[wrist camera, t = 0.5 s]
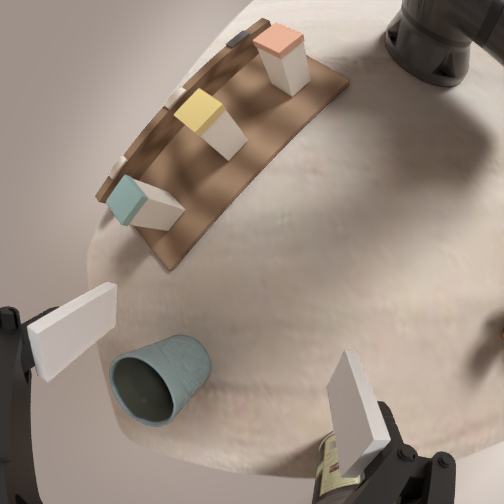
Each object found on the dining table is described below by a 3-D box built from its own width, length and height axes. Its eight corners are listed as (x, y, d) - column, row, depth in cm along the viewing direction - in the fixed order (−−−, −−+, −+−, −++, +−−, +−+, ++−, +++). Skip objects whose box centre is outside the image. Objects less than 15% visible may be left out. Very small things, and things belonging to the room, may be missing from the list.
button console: (270, 40, 36) (261, 16, 30) (348, 84, 33) (349, 58, 27) (119, 202, 43) (93, 195, 37) (172, 270, 40) (147, 272, 33)
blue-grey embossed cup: (221, 343, 37) (179, 374, 26) (210, 400, 38) (172, 440, 26) (161, 322, 40) (108, 341, 28) (155, 377, 40) (109, 405, 29)
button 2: (169, 191, 38) (124, 174, 29) (186, 209, 38) (142, 196, 28) (152, 213, 39) (105, 202, 29) (168, 231, 38) (121, 225, 29)
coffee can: (352, 476, 31) (351, 537, 18) (305, 453, 34) (290, 517, 20) (397, 439, 30) (413, 500, 16) (349, 413, 32) (352, 478, 19)
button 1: (289, 67, 34) (276, 22, 24) (311, 80, 33) (303, 34, 23) (270, 84, 35) (252, 40, 25) (292, 97, 34) (278, 52, 24)
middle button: (229, 124, 36) (198, 88, 26) (249, 140, 35) (222, 103, 26) (209, 145, 37) (173, 114, 27) (228, 162, 36) (195, 132, 26)
